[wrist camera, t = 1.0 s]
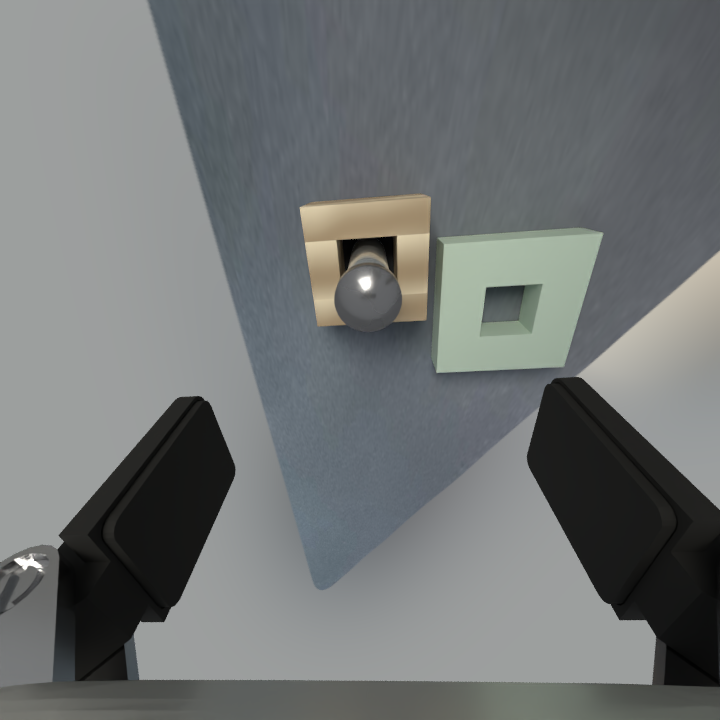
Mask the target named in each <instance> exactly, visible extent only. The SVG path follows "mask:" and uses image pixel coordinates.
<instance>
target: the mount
mask: <svg viewBox="0 0 720 720" xmlns="http://www.w3.org/2000/svg"><path fill="white" fill-rule="evenodd" d="M430 206H431V197H429V196H426V195H423V194H408V195H396V196H383V197H371V198H358V199H346V200H333V201H321V202H311V203H308V204H306V205H304V206H302V207H300V213H301V220H302V226H303V233H304V239H305V246H306V252H307V259H308V265H309V272H310V279H311V285H312V292H313V298H314V305H315V311H316V318H317V324H318V326H334V325H346V324H345V323H344V322H343V321H342V320H341V319H340V317H339V316H338V314H337V311H336V308H335V304H334V295H335V291H336V287H337V284H338V281H339V280H340V278H341V276H342V275H343V274H344V273H345V261H344V251H343V240H345V239H358V238H372V237H386V236H393V269H394V275H395V277H396V279H397V280H398V283H399V286H400V289H401V293H402V305H401V309H400V312H399V314H398V316H397V317H396V319H395V320H394V321H393V322H404V321H422V320H426V317H427V290H428V262H429V234H430Z"/></svg>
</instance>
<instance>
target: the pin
mask: <svg viewBox="0 0 720 720" xmlns="http://www.w3.org/2000/svg"><path fill="white" fill-rule="evenodd" d="M334 304H335V308H336V311H337V314H338V316H339V317H340V319H341V320H342V321H343V322H344V323H345V324H346V325H348V326H349V327H351V328H353V329H355V330H357V331H361V332H375V331H379V330H381V329H383V328H385V327H387V326H389V325H390V324H391V323H392V322H393V321H394V320H395V319H396V317H397V316H398V314H399V312H400V309H401V305H402V293H401V289H400V286H399V283H398V280H397V279H396V277H395V275H394V274H393V273H392V272H391V271H390V270H389V267H388V262H387V258H386V253H385V248H384V246H383V244H382V243H381V242H380V241H379V240H378V239H376V238H374V237H372V238H361V239H359V240H358V241H357V242H356V243H355V244H354V246H353V249H352V253H351V257H350V262H349V266H348V270H347V271H346V272H345V273H344V274H343V275H342V276H341V278H340V280H339V281H338V284H337V287H336V291H335V295H334Z"/></svg>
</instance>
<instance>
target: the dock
mask: <svg viewBox="0 0 720 720" xmlns="http://www.w3.org/2000/svg"><path fill="white" fill-rule="evenodd" d="M602 236H603V233H602V232H598V231H594V230H589V229H585V228H581V227H579V228H565V229H551V230H537V231H523V232H509V233H495V234H481V235H467V236H453V237H439V238H437V248H436V269H435V290H434V311H433V332H432V353H431V358H432V361H433V364H434V367H435V370H436V373H445V372H467V371H488V370H509V369H531V368H552V367H564V365H565V361H566V358H567V355H568V351H569V348H570V344H571V341H572V338H573V334H574V331H575V328H576V324H577V321H578V317H579V314H580V311H581V307H582V304H583V301H584V297H585V294H586V290H587V287H588V284H589V280H590V277H591V274H592V270H593V267H594V263H595V260H596V257H597V253H598V250H599V247H600V243H601V240H602ZM515 285H525V288H524V293H523V298H522V303H521V309H520V314H519V319H518V321H505V322H487V323H482V315H483V307H484V300H485V292H486V287H499V286H515Z"/></svg>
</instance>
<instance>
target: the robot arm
mask: <svg viewBox="0 0 720 720" xmlns="http://www.w3.org/2000/svg"><path fill="white" fill-rule="evenodd" d="M527 462H528V465H529V468H530V470H531V472H532V474H533V475H534V477H535V479H536V481H537V483H538V485H539V487H540V488H541V490H542V492H543V494H544V496H545V497H546V499H547V501H548V503H549V505H550V507H551V508H552V510H553V512H554V514H555V516H556V517H557V519H558V521H559V523H560V525H561V527H562V529H563V530H564V532H565V534H566V536H567V538H568V540H569V541H570V543H571V545H572V547H573V549H574V551H575V552H576V554H577V556H578V558H579V560H580V562H581V563H582V565H583V567H584V569H585V571H586V572H587V574H588V576H589V578H590V580H591V582H592V584H593V585H594V587H595V589H596V591H597V592H598V594H599V596H600V597H601V598H602V600H603V601H604V602H606V603H608V604H611V606H612V608H613V609H614V611H615V613H616V615H617V616H618V618H619V620H647V622H648V624H649V625H650V627H651V628H652V630H653V632H654V633H655V635H656V647H655V659H654V670H653V671H654V672H653V682H652V685H638V684H597V683H591V684H590V683H520V682H518V683H517V682H515V683H514V682H433V681H431V682H430V681H303V680H139V674H138V666H137V658H136V650H135V642H134V632H135V630H136V628H137V625H138V624H139V622H140V621H141V622H164V621H165V619H166V617H167V615H168V612H169V610H170V608H171V607H173V606H175V605H176V603H177V602H178V601H179V600H180V598H181V596H182V593H183V591H184V589H185V587H186V584H187V582H188V580H189V578H190V575H191V573H192V571H193V568H194V566H195V564H196V562H197V560H198V558H199V555H200V553H201V551H202V549H203V546H204V544H205V542H206V540H207V537H208V535H209V533H210V530H211V528H212V526H213V524H214V522H215V520H216V517H217V515H218V513H219V511H220V508H221V506H222V504H223V501H224V499H225V497H226V495H227V493H228V490H229V488H230V486H231V484H232V481H233V479H234V476H235V465H234V462H233V460H232V457H231V454H230V452H229V450H228V447H227V445H226V442H225V440H224V437H223V435H222V432H221V430H220V427H219V425H218V422H217V420H216V417H215V415H214V412H213V410H212V407H211V405H210V403H209V402H208V401H205V400H204V399H203V398H202V397H200V396H193V397H179V398H177V399H176V400H175V401H174V402H173V403H172V404H171V406H170V407H169V408H168V409H167V410H166V411H165V413H164V414H163V415H162V416H161V417H160V418H159V420H158V421H157V422H156V423H155V424H154V425H153V427H152V428H151V429H150V430H149V431H148V432H147V434H146V435H145V436H144V437H143V438H142V439H141V440H140V442H139V443H138V444H137V445H136V447H135V448H134V449H133V450H132V451H131V452H130V453H129V454H128V456H127V457H126V458H125V459H124V460H123V461H122V462H121V464H120V465H119V466H118V467H117V468H116V469H115V471H114V472H113V473H112V474H111V475H110V476H109V478H108V479H107V480H106V481H105V482H104V483H103V484H102V486H101V487H100V488H99V489H98V490H97V491H96V493H95V494H94V495H93V496H92V497H91V498H90V500H89V501H88V502H87V503H86V504H85V505H84V507H83V508H82V509H81V510H80V511H79V512H78V514H77V515H76V516H75V517H74V518H73V519H72V520H71V522H70V523H69V524H68V525H67V526H66V527H65V529H64V530H63V531H62V532H61V533H60V535H59V536H60V538H61V539H62V540H63V541H64V543H63V544H62V545H61V546H60V547H59V548H58V550H57V549H56V548H54V547H53V546H50V545H40V546H35V547H30V548H27V549H25V550H23V551H20V552H18V553H16V554H14V555H12V556H11V557H9V558H7V559H5V560H4V561H2V562H0V720H720V510H719V509H718V508H717V507H716V506H715V505H714V504H713V503H712V502H710V500H709V499H708V498H707V497H706V496H704V495H703V494H702V493H701V492H700V491H699V490H698V489H697V488H696V487H695V486H694V485H693V484H692V483H691V482H690V481H689V480H688V479H687V478H686V477H684V476H683V474H681V473H680V472H679V471H678V470H677V469H676V468H675V467H674V466H673V465H672V464H671V463H670V462H669V461H668V460H667V459H666V458H665V457H664V456H663V455H661V453H660V452H659V451H657V450H656V449H655V448H654V447H653V446H652V445H651V444H650V443H649V442H648V441H647V440H646V439H645V438H644V437H643V436H642V435H641V434H640V433H639V432H637V431H636V429H634V428H633V427H632V426H631V425H630V424H629V423H628V422H627V421H626V420H625V419H624V418H623V417H622V416H621V415H620V414H619V413H618V412H617V411H616V410H615V409H614V408H613V407H611V406H610V405H609V404H608V403H607V402H606V401H605V400H604V399H603V398H602V397H601V396H600V395H599V394H598V393H597V392H596V391H595V390H594V389H592V387H591V386H590V385H588V384H587V383H586V382H585V381H584V380H583V379H582V378H579V377H570V378H556V379H554V380H553V381H552V382H551V384H547V385H546V387H545V389H544V393H543V397H542V400H541V404H540V408H539V412H538V416H537V420H536V423H535V427H534V431H533V435H532V438H531V442H530V446H529V450H528V454H527Z"/></svg>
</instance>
